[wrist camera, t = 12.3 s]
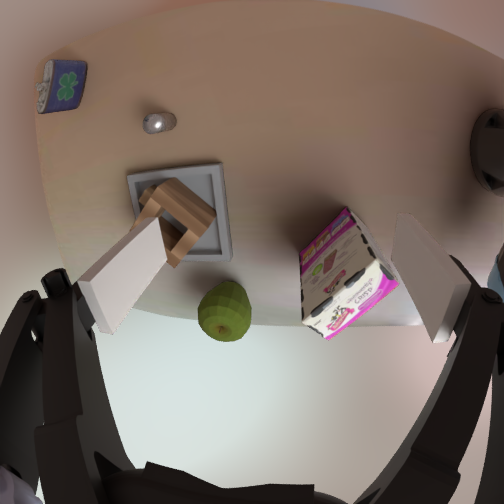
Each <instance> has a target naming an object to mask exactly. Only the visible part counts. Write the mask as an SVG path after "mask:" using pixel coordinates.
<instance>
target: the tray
mask: <svg viewBox="0 0 504 504" xmlns="http://www.w3.org/2000/svg"><path fill="white" fill-rule="evenodd" d="M172 177H176V178H177V179H178V180H180V181H181V182H182V183H183V184H184V185H186V186H187V187H188V188H189V189H191V190H192V191H193V192H194V193H195V194H197V195H198V196H199V197H200V198H201V199H203V200H204V201H205V202H206V203H207V204H209V205H210V206H211V207H212V208H214V209H215V210H216V213H217V216H216V218H215V219H214V220H213V222H212V223H211V225H210V226H209V228H208V229H207V230H206V231H205V232H204V234H203V235H202V236H201V237H200V238H199V240H198V241H197V242H196V243H195V244H194V245H193V247H192V248H191V249H190V250H189V251H188V253H187V254H186V255H185V256H184V257H183V259H182V260H181V261H231V259H232V256H233V252H232V244H231V236H230V227H229V219H228V210H227V201H226V192H225V183H224V174H223V165H222V163H210V164H199V165H190V166H181V167H172V168H164V169H157V170H149V171H143V172H136V173H132V174H130V175H128V176H127V180H128V185H129V190H130V195H131V199H132V204H133V209H134V213H135V218H136V220H137V218H138V216H139V215H140V213H141V211H142V210H143V208H144V207H145V206H144V205H143V204H141V203H140V202H139V199H140V198H141V196H142V194H143V193H144V191H145V189H147V188H149V187H150V186H152V185H154V184H155V185H156V186H157V187H158V186H159V185H161V184H162V183H164V182H166V181H167V180H169V179H170V178H172ZM161 216H162V217H163V218H165V219H166V220H167V221H168V222H170V223H171V224H172V225H173V226H174V227H176V228H177V229H178V230H179V231H180V232H182V233H183V234H185V233H186V232H187V230H188V228H187V227H186V226H184V225H183V224H182V223H181V222H180V221H178V220H177V219H176V218H175V217H173V216H172V215H171V214H170V213H169V212H167V211H166V210H165V211H164V213H163V214H162V215H161Z"/></svg>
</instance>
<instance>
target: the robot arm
mask: <svg viewBox="0 0 504 504" xmlns="http://www.w3.org/2000/svg"><path fill="white" fill-rule="evenodd" d="M470 150H471V161H472V165H473V169H474V172H475V174H476V177H477V178H478V180H479V182H480V183H481V184H482V186H483V187H484V188H485V189H487V190H488V191H490V192H492V193H493V194H495V195H497V196H501V197H504V110H500V109H490V110H488V111H486V112H484V113H483V114H482V115H481V116H480V117H479V119H478V120H477V122H476V124H475V126H474V129H473V132H472V137H471V147H470ZM391 260H392V262H393V263H394V265H395V267H396V269H397V271H398V273H399V274H400V276H401V278H402V280H403V282H404V284H405V286H406V288H407V290H408V292H409V294H410V296H411V298H412V300H413V302H414V304H415V306H416V308H417V310H418V312H419V314H420V316H421V318H422V321H423V323H424V325H425V327H426V329H427V332H428V334H429V336H430V338H431V341H432V343H439V342H446V341H448V340H449V338H450V336H451V333H452V331H453V330H454V332H455V334H456V336H457V337H456V339H455V341H454V343H453V345H452V347H451V350H450V351H449V353H448V355H447V357H448V358H447V361H446V363H445V365H444V368H443V370H442V372H441V374H440V376H439V378H438V380H437V383H436V385H435V387H434V389H433V391H432V393H431V395H430V397H429V398H428V400H427V402H426V404H425V406H424V408H423V410H422V411H421V413H420V415H419V417H418V419H417V420H416V422H415V424H414V425H413V427H412V429H411V430H410V432H409V433H408V435H407V437H406V438H405V440H404V441H403V443H402V444H401V446H400V447H399V449H398V450H397V452H396V453H395V454H394V456H393V457H392V459H391V460H390V462H389V463H388V464H387V466H386V467H385V468H384V470H383V471H382V472H381V473H380V475H379V476H378V477H377V479H376V480H375V481H374V482H373V483H372V484H371V485H370V486H369V487H368V488H367V489H366V491H364V493H363V494H362V495H361V496H360V497H359V498H358V499H357V500H356V501H355V502H354V503H353V504H448V502H449V501H450V499H451V497H452V496H453V494H454V492H455V490H456V488H457V486H458V484H459V481H460V476H461V475H460V473H459V472H458V467H459V465H460V462H461V460H462V458H463V456H464V454H465V451H466V449H467V447H468V444H469V442H470V440H471V437H472V434H473V432H474V430H475V427H476V424H477V422H478V419H479V416H480V413H481V410H482V407H483V404H484V401H485V397H486V394H487V390H488V387H489V383H490V379H491V375H492V405H491V420H490V430H489V437H488V445H487V451H486V457H485V463H484V467H483V472H482V477H481V481H480V485H479V489H478V493H477V496H476V499H475V503H474V504H504V243H503V246H502V248H501V250H500V252H499V254H498V255H497V256H496V259H495V264H494V266H493V268H492V270H491V272H490V275H489V277H488V282H487V286H488V288H481V287H480V285H479V284H478V283H477V282H476V280H475V279H474V278H473V277H472V275H471V274H470V273H469V272H468V271H467V269H466V268H464V266H463V265H462V263H461V262H460V261H459V260H458V259H456V258H455V257H453V256H452V255H448V254H447V253H446V252H445V250H444V249H443V248H442V247H441V246H440V245H439V244H438V243H437V241H436V240H435V239H434V238H433V237H432V236H431V235H430V234H429V233H428V232H427V230H426V229H425V228H424V227H423V226H422V225H421V224H420V223H419V222H418V221H417V220H416V219H415V218H414V217H413V216H412V215H411V214H410V213H398V215H397V223H396V230H395V237H394V244H393V250H392V256H391ZM166 261H167V256H166V252H165V248H164V244H163V239H162V235H161V230H160V226H159V221H158V217H151V218H146V219H144V220H143V221H142V222H141V223H140V224H138V225H137V226H136V227H135V228H134V229H133V230H131V231H130V232H129V233H128V234H127V235H126V236H124V237H123V238H122V239H121V240H120V241H119V242H118V243H117V244H115V245H114V246H113V247H112V248H111V249H110V250H109V251H108V252H107V253H105V254H104V255H103V256H102V257H101V258H100V259H99V260H98V261H97V262H96V263H95V264H94V265H93V266H92V267H90V268H89V269H88V270H87V271H86V272H85V273H84V274H83V275H82V276H81V277H80V278H79V279H78V280H77V281H76V282H75V283H74V284H73V285H71V282H70V280H69V277H68V275H67V273H66V270H65V269H63V268H59V269H55V270H53V271H51V272H49V273H47V274H46V275H45V276H44V277H43V278H42V279H41V283H42V285H43V287H44V289H45V292H46V293H47V296H48V298H44V299H41V297H40V295H39V293H38V291H37V290H31V291H27V292H26V293H24V294H23V295H22V296H21V297H20V298H19V300H18V301H17V303H16V305H15V307H14V309H13V310H12V312H11V314H10V316H9V318H8V320H7V322H6V324H5V326H4V328H3V330H2V332H1V334H0V504H43V503H42V501H41V500H40V499H39V498H38V497H36V496H35V495H36V491H37V486H38V480H39V477H40V482H41V487H42V491H43V496H44V500H45V504H348V503H346V502H344V501H342V500H340V499H338V498H336V497H334V496H331V495H328V494H324V493H321V492H316V491H314V484H310V485H307V484H306V485H296V484H265V485H257V486H249V487H239V488H220V487H218V486H215V485H213V484H211V483H208V482H206V481H204V480H201V479H199V478H197V477H195V476H193V475H191V474H188V473H186V472H184V471H181V470H177V469H173V468H169V467H165V466H162V465H158V464H155V463H151V462H148V461H147V463H146V465H145V468H144V469H136V468H135V467H134V465H133V464H132V463H131V461H130V460H129V458H128V457H127V455H126V453H125V450H124V447H123V444H122V442H121V439H120V436H119V433H118V430H117V427H116V424H115V420H114V417H113V414H112V411H111V407H110V403H109V399H108V396H107V392H106V388H105V384H104V379H103V375H102V371H101V366H100V362H99V356H98V351H97V345H96V340H95V334H94V332H93V330H92V328H91V327H92V326H93V324H94V323H95V322H96V324H97V326H98V328H99V330H100V332H103V333H108V334H114V333H115V331H116V330H117V328H118V327H119V325H120V324H121V322H122V321H123V319H124V318H125V317H126V315H127V314H128V312H129V311H130V310H131V308H132V307H133V305H134V304H135V302H136V301H137V300H138V298H139V297H140V296H141V294H142V293H143V291H144V290H145V289H146V287H147V286H148V285H149V283H150V282H151V281H152V279H153V278H154V276H155V275H156V274H157V272H158V271H159V270H160V269H161V267H162V266H163V265H164V263H165V262H166ZM31 330H32V331H33V333H34V335H35V336H36V340H35V341H34V340H33V337H32V333H31ZM43 424H44V425H43Z"/></svg>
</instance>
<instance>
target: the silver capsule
mask: <svg viewBox="0 0 504 504" xmlns="http://www.w3.org/2000/svg"><path fill="white" fill-rule="evenodd" d="M176 123H177V119H176V117H175V115H174V114H172V113H158V114H149V115H147V116H146V117H145V118H144V120H143V129H144V131H145V132H146V133H148V134H155V133H159V132H164V131H169V130H172V129H173V128H174V127H175V126H176Z"/></svg>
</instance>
